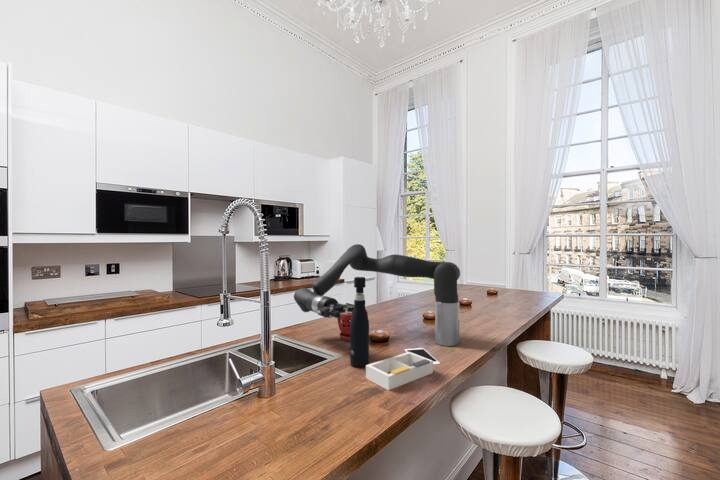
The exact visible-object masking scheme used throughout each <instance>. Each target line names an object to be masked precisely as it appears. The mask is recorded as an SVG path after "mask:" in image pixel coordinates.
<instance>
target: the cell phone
mask: <svg viewBox="0 0 720 480" xmlns="http://www.w3.org/2000/svg"><path fill="white" fill-rule="evenodd" d="M404 351H405V353H407V352H411V353H414V354H417V355H419V356H422V357H425V358H427V359H430V360H432V361H433V366H435V365H440V364H441V362H440V361H439V360H437V359H436V358H435V357H434V356H432V354H430V353H429V351H427V350H426V349H425V348H424V347H417V348H416V347H415V348H404Z"/></svg>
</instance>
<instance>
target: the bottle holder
mask: <svg viewBox="0 0 720 480" xmlns="http://www.w3.org/2000/svg"><path fill="white" fill-rule="evenodd" d="M433 373H434V365H433V361H432V360H430V359H427V358H425V357H422V356H419V355H417V354H414V353H411V352H405V353H404V352H403V353H401V354H398V355H395V356H391V357H387V358H385V359H382V360H378V361H374V362H372V363H369V364H368V365H366V367H365V379H367V380H368V381H371V382H373V383H374V384H376V385H378V386H380V387H382V388H383V389H385V390H388V391H390V390H393V389H396V388H398V387H401V386H403V385H406V384H408V383H410V382H413V381H417V380H418V379H421V378H423V377H426V376H428V375H432V374H433Z"/></svg>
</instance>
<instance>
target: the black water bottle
mask: <svg viewBox="0 0 720 480" xmlns="http://www.w3.org/2000/svg"><path fill="white" fill-rule="evenodd" d="M353 280H354V281H353V287H354V288H355V295H354V301H353V303H354V304H353V305H354V310H353V313H352V317H351V322H350V341H349V342H350V343H349V344H350V345H349V346H350V347H349V355H350V357H349V358H350V362H349V363H350V366H351V367H352V368H356V369H363V368H366V365H368V364H370V321H369V316H368V315H367V312H368V311H367V312H366V310H367V309H366V300H365V299H366V298H365V294H364V288H366V277H365V276H355V277H353Z"/></svg>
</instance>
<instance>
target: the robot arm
mask: <svg viewBox="0 0 720 480" xmlns="http://www.w3.org/2000/svg"><path fill="white" fill-rule="evenodd" d="M348 266H350V267H351V268H352V269H353V270H355V271H361V272H375V273H382V274H387V275H392V276H398V277H404V278H427V279H433V293H434V296H435V297H434V298H435V302H434V306H435V307H434V308H435V309H434V310H435V314H434V315H435V316H434V317H435V318H434V321H435V323H434V329H435V331H434V332H435V333H434V342H435V343H436V344H437V345H440V346H445V347H452V346H457V345H458V344H459V343H460V318H459V294H458V280H459V279H460V276H461V271H460V268H459V267H458V266H457V264H455V263H453V262H452V261H451V262H450V261H432V260H425V259H421V258H418V257H412V256H407V255H403V254H391V255H390V254H389V255H387V256H384V257H382V258H374V257H369V256H368V253H367V250H366V248H365V246H364V245H362V244H358V243H357V244H354V245H351V246H350V247H349V248H347V249H346V251H345V252H344V253H342V255H341V256H339V258H338V259H337V260H336V261H335V262H334V264H333V265H332V266H331V267H330V268H329V269H328V270H327V271H326V272H325V273H324V274H322V275H321V276H319V277H318V278H317V279H316V280H315V281H313V282H312V284H311V287H312V290H313V291H312V290H311V289H309V288H307V287H306V288H305V287H301V288H298V289H297V290H295V292H294V294H293V299H294V301H295V303H296V304H297V306H298V307H299V308H300V310H301V311H302V312H303V313H309V312H313V313H315V314H317V315H318V316H321V317H323V318H328V319H329V318H331V319H332V318H336V319H338V318H340V314H347V313H353V310H354V304H353V303H350V302H349V303H348V302H346V303H340V302H338V300H337V299H336V298H334V297H329V296H326V294H327V293H328V292H329V291H330V290H331V289H332V288H333V287H334V286H335V285H336V284H337V283H338V282H339V280H340V278H341V276H342V274H344V273H343V272H344V271H345V270H346V268H347V267H348ZM344 309H345V312H344Z"/></svg>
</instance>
